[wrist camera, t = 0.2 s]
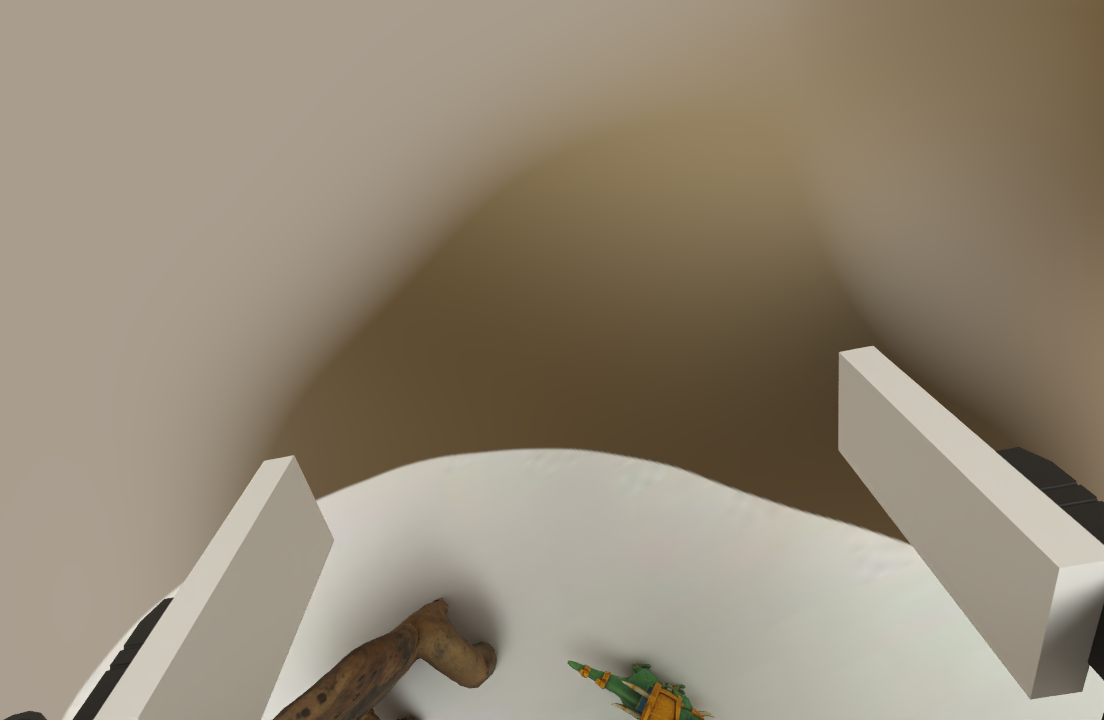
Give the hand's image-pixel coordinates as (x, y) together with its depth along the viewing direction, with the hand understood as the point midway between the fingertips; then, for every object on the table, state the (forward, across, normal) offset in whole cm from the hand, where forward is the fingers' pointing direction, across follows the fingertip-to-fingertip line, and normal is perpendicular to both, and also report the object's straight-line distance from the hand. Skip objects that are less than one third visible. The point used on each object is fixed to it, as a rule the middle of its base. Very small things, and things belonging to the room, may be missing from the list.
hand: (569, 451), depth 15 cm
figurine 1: (+21, +17, +32) cm, 42 cm away
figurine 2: (+19, 0, +35) cm, 40 cm away
